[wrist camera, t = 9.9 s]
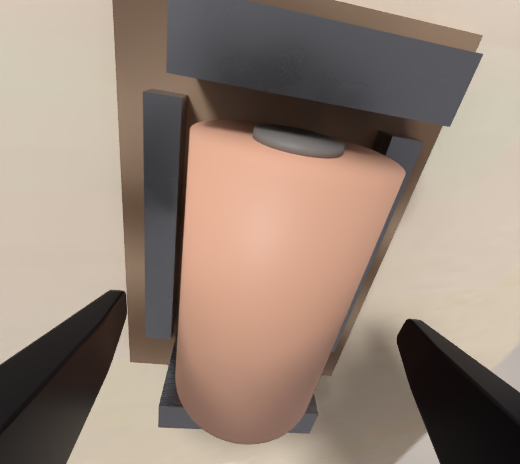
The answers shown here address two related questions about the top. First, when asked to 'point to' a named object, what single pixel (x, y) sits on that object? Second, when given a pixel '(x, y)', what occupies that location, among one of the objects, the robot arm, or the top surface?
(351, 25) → the roll cradle
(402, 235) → the top surface
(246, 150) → the roll
